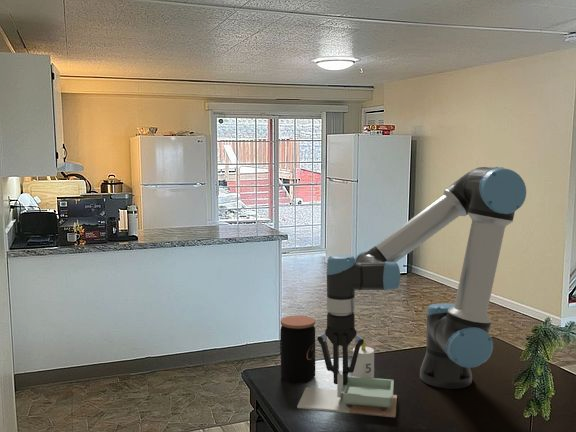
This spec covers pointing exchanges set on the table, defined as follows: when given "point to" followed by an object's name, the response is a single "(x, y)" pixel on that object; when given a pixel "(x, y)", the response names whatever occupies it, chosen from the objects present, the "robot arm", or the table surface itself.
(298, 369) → the coffee jar
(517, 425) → the table surface
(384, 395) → the mint green tray
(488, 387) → the table surface
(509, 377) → the table surface
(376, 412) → the board
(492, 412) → the table surface
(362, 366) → the candle
